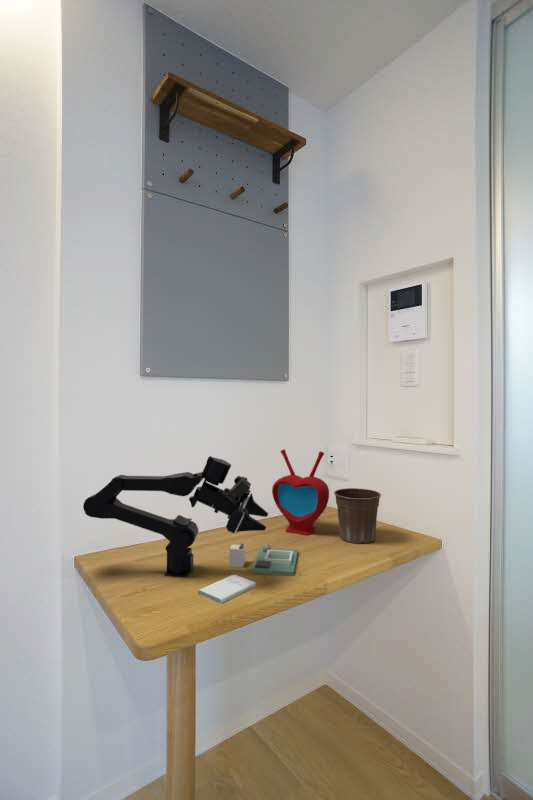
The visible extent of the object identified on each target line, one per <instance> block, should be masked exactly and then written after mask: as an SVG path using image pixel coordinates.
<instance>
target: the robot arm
mask: <svg viewBox="0 0 533 800" xmlns="http://www.w3.org/2000/svg"><path fill="white" fill-rule="evenodd" d="M231 467H232V463H230V462H228V461H226V460H225V459H221V458H218V457H213V456H211V455H210V456H209V457H207V459H206V463H205V466H204V468H203V470H202V471H200V472H196V473H193V472H189V471H187V472H186V471H185V472H179V473H174V474H169V475H163V476H162V475H161V476H159V475H158V476H157V475H125V474H120V475H117V476H115V477H113V478H112V479H111V481H110V482H108V483H107V484H106V485H105V486H104V487H103V488H101V489H100V490H99V491H97V493H94V494H93V495H91V496H89V497H87V498H86V499H85V500H84V502H83V506H82V507H83V511H84V514H85V515H86V516H88V517H90V518H96V519H103V520H104V519H106V520H107V519H109V520H110V519H111V520H112V519H113V520H118V521H121V522H122V523H126V524H129V525H132V526H135V527H138V528H141V529H144V530H146V531H150V532H153V533H156V534H158V535H161V536H163V537H164V538H166V540H167V541H168V543H167V545H166V546H165V551H166V570H165V572H163V573H164V576H173V577H174V576H176V577H187V576H188V575H189V574H190V573H191V571H193V569H194V553H192V550H193V548H192V547H191V546H192V545H193V544H194V542H195V541H196V538H197V536H198V535H199V527H198V525H197V523H196V522H194V521H193V520H192V518H187V517H185V516H184V515H180V514H178V515H177V516H176V517H175V518H173V519H172V518H167V517H163V516H160V515H158V514H154V513H152V512H149V511H145V510H143V509H139V508H136V507H134V506H131V505H129V504H126V503H123V502H122V501H121V500H119V498H117V497H118V496H119V494H121V493H122V491H124V492H125V491H126V492H127V491H129V492H130V491H131V492H133V491H134V492H137V491H138V492H139V491H140V492H163V493H167V494H169V495H172V496H173V495H174V496H179V497H187V496H188V495H190V494H191V493H192V492H193V491H194V490H195V491H194V493H193V495H191V496H190V497H189V498H188V500H189V501H190V505H191V508H195V506H196V505H197V503H201V504H203V505H205V506H207V507H209V508H212V509H214V510H213V512H214V513H215V514H218V513H219V512H220V513H222V514H224V515H227V519H228V520H227V523H226V526H225V528H226V531H228V533H232V534H235V533H239V532H252V531H253V532H254V531H255V532H256V531H257V532H258V531H264V532H265V530H266V528H267V526H266V525H264V524H263V523H262V522H261V521H258V520H257V519H255V518H254V517H252V516H258V517H265V518H266V517H268V515H269V512H267V511H266V510H265V509H264V508H263V507H262V506H260V505H259V504H258V503H257V502H256V501H255V500H254V496H253V493H251V490H250V489H251V485H252V483H251V482H250V481H249V480H248V477H245V476H243V475H242V476H240V475H237V477H235V478H234V480H233V481H234V485H233V486H232V487H231V488H227V487H225V488H224V489H221V488H220V487H217V486H219V484H222V485H223V484H224V482H225V480H226V478H227V476H228V474H229V472H230V469H231ZM202 481H203V482H202ZM201 482H202V485H201V486H199V484H200V483H201Z"/></svg>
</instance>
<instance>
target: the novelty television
mask: <svg viewBox="0 0 533 800" xmlns="http://www.w3.org/2000/svg"><path fill="white" fill-rule="evenodd" d="M280 453H281V455H282V457H283V459H284V461H285V463H286V466H287V468H288V470H289V473H290V474H289V475H285V476H282V477H280V478H278V479H277V480H275V482H274V483H273V485H272V487H271V488H272V489H271V493H272V497H273V501H274V502H275V505H276V507H277V509H278V510H279V512H280V513H281V515H283V517H284V518H285V519H286V521H287V522H288V523H289V526H288V527H286V529H285V531H286V532H285V533H290V532H291V534H292V533H293V534H297V533H298V534H297V535H302V534H303V536H309V535H311V534H312V535H313V534H314V533H316V527H315V526H314V524H315V522H316V521H317V520H318V519H319V518H320V516H321V515H322V514H323V513H324V511H325V510H326V508H327V505H328V503H329V498H330V489H329V486H328V484H327V483H326V482H325V481H324V480H323V479H321V478H318V477H316V476H315V474H316V471H317V469H318V467H319V465H320V462H321V460H322V458H323V456H324V455H325V453H324V452H323V451H319V452H318V455H317V458H316V460H315V463H314V464H313V467H312V469H311V472H310V474H309V476H305V477H302V476H300V475H297V474H296V473H295V471H294V469H293V466H292V465H291V461H290V460H289V457H288V454H287V452H286V449H282V450H280Z"/></svg>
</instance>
